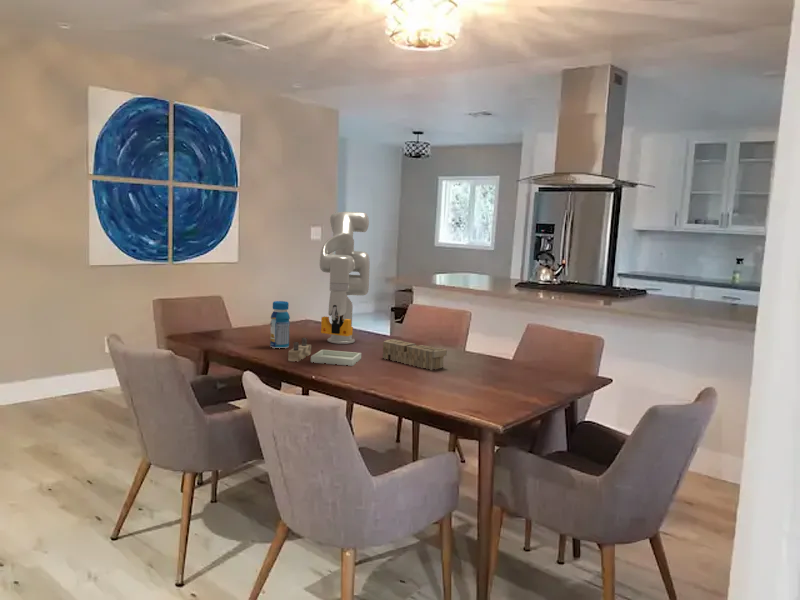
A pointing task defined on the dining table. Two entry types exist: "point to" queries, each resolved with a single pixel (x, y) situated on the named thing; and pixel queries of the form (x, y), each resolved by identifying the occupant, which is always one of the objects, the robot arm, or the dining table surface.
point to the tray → (336, 357)
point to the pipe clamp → (344, 329)
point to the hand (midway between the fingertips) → (337, 331)
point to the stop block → (299, 351)
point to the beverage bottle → (280, 325)
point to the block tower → (413, 354)
